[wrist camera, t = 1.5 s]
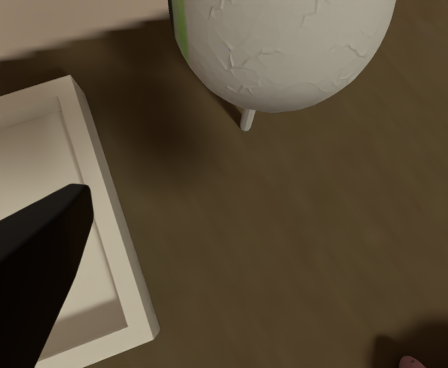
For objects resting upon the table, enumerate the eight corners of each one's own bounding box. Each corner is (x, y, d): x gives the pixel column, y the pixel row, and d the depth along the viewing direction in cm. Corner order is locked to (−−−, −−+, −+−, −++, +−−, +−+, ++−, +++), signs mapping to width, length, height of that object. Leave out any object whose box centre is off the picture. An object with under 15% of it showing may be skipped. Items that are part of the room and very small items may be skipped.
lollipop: (183, 79, 24) (139, -215, 9) (292, 69, 24) (419, -228, 9) (195, 187, 22) (165, 46, 8) (310, 174, 23) (491, 18, 8)
